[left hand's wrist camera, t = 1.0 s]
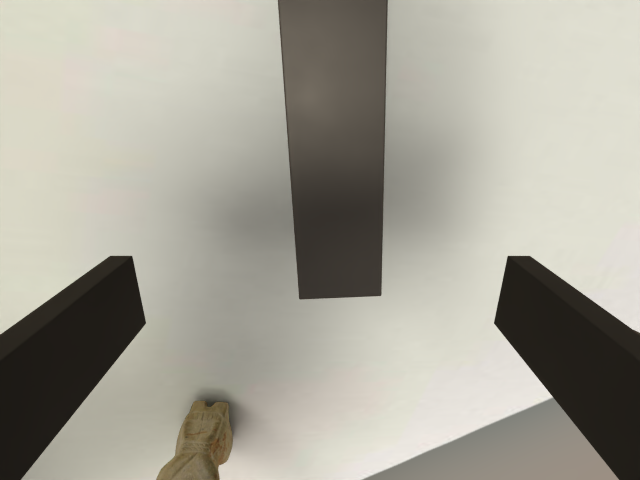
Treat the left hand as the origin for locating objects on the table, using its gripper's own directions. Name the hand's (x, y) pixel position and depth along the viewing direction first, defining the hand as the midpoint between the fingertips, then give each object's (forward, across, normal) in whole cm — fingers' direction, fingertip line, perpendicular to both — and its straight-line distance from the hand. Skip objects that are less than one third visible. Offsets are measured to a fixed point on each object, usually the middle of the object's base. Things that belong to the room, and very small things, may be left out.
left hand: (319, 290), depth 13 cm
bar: (+18, -1, -6) cm, 19 cm away
